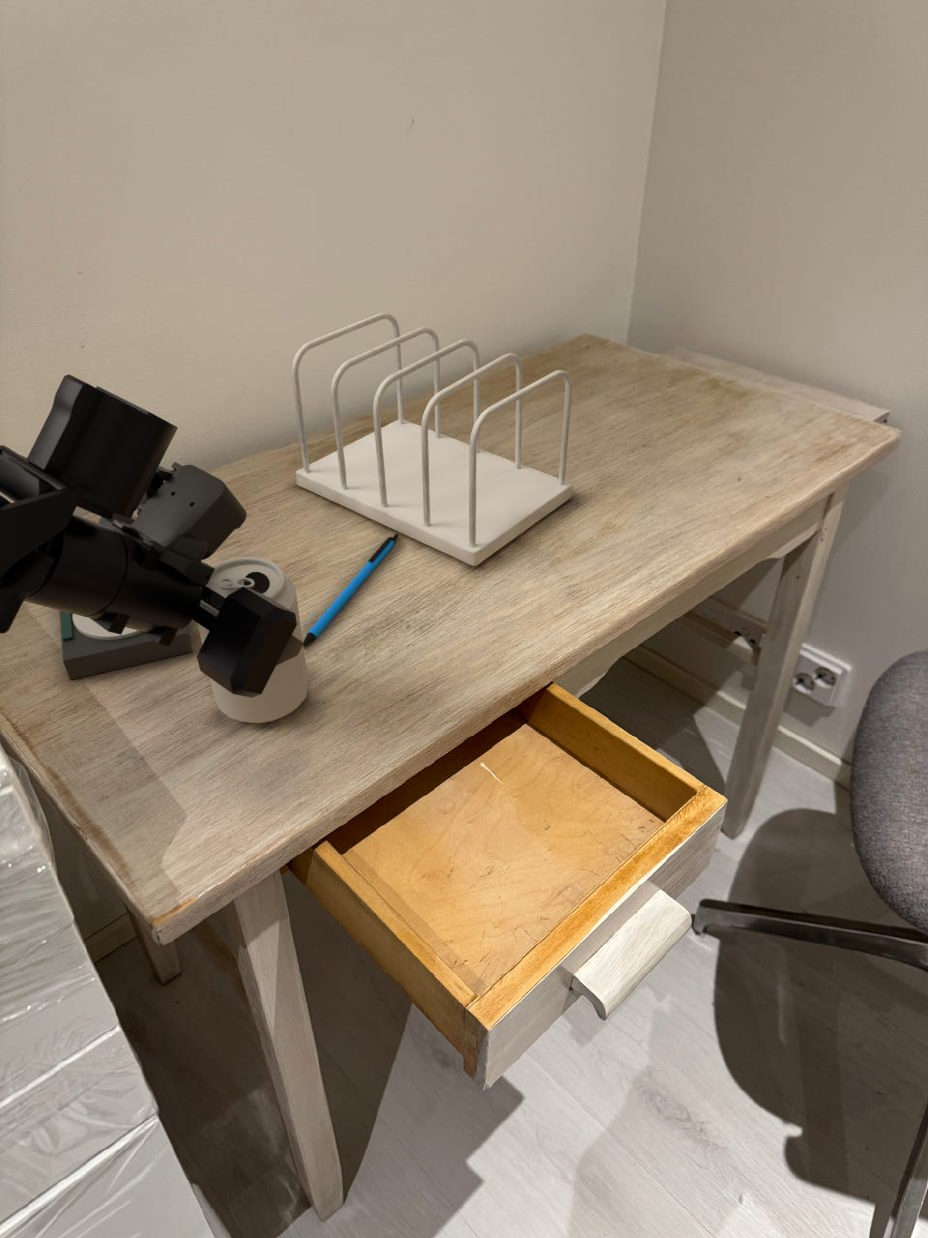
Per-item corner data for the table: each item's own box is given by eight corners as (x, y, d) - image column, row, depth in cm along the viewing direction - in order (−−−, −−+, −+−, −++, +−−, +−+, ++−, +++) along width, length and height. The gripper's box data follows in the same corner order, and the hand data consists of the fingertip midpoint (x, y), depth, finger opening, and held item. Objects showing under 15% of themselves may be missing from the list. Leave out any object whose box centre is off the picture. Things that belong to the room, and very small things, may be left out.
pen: (401, 539, 91) (400, 530, 90) (306, 653, 77) (305, 643, 76) (393, 537, 91) (392, 528, 90) (297, 650, 77) (296, 641, 77)
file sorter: (573, 499, 97) (586, 361, 87) (474, 571, 86) (477, 424, 76) (400, 430, 109) (395, 302, 99) (295, 487, 98) (278, 350, 89)
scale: (69, 680, 74) (61, 656, 72) (64, 610, 81) (56, 587, 79) (192, 652, 77) (187, 628, 75) (177, 586, 84) (171, 564, 82)
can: (320, 716, 71) (304, 596, 63) (225, 741, 69) (197, 620, 61) (298, 657, 76) (281, 541, 69) (209, 679, 74) (182, 561, 67)
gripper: (252, 507, 50) (395, 576, 63) (69, 409, 59) (229, 487, 73) (162, 683, 50) (324, 715, 64) (-6, 558, 59) (167, 609, 73)
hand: (258, 622), depth 68 cm, fingers open, 9 cm apart
